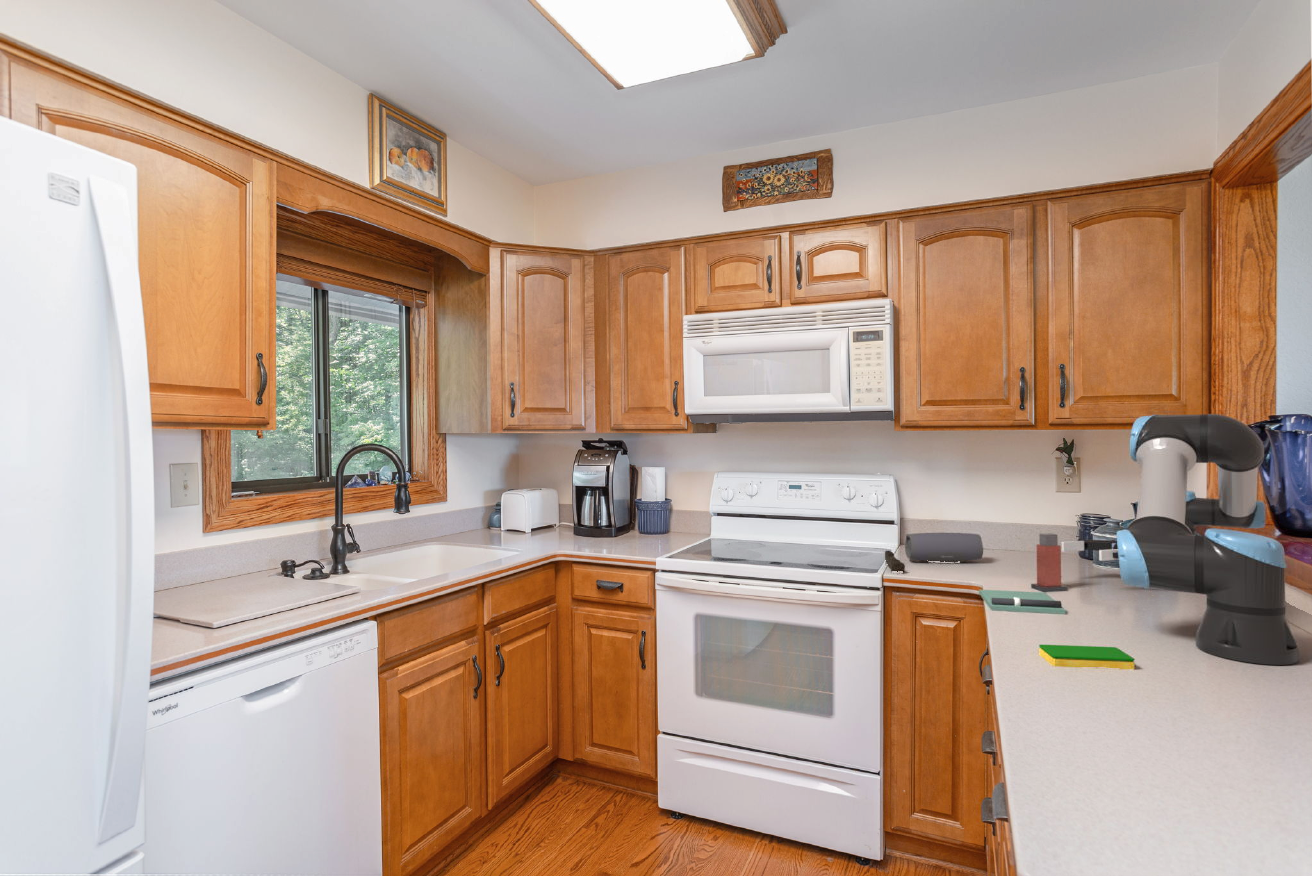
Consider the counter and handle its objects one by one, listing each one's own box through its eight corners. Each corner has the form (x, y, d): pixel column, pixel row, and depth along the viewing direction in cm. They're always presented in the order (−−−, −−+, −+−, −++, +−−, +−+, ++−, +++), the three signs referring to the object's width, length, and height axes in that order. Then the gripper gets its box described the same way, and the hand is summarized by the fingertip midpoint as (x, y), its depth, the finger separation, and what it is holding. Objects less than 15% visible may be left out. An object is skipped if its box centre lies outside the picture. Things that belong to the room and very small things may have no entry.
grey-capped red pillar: (1067, 590, 184) (1066, 535, 184) (1044, 592, 183) (1043, 536, 183) (1053, 586, 189) (1053, 532, 189) (1031, 588, 188) (1030, 533, 188)
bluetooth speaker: (973, 560, 230) (973, 530, 230) (984, 565, 220) (983, 534, 220) (904, 559, 232) (904, 530, 232) (912, 565, 223) (911, 534, 223)
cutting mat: (1065, 614, 161) (1065, 601, 161) (991, 610, 166) (991, 598, 166) (1045, 596, 178) (1045, 585, 178) (978, 593, 183) (978, 582, 183)
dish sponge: (1135, 672, 124) (1135, 658, 124) (1053, 668, 126) (1052, 655, 126) (1116, 659, 131) (1116, 646, 131) (1038, 656, 133) (1038, 643, 133)
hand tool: (905, 575, 209) (905, 560, 209) (891, 574, 210) (891, 559, 210) (895, 563, 227) (895, 549, 227) (883, 563, 228) (883, 549, 228)
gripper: (1189, 569, 178) (1117, 573, 175) (1112, 552, 203) (1048, 556, 200) (1189, 541, 178) (1117, 544, 175) (1112, 527, 203) (1048, 530, 200)
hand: (1080, 550), depth 188 cm, fingers open, 13 cm apart
